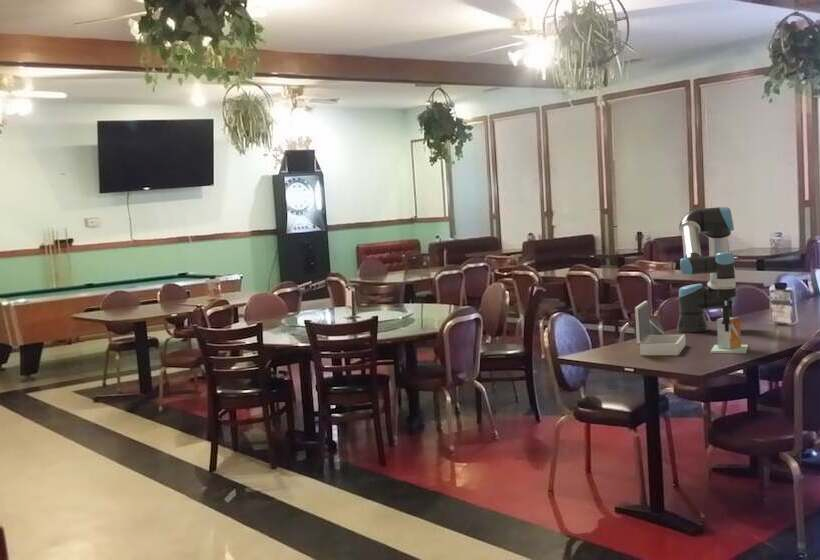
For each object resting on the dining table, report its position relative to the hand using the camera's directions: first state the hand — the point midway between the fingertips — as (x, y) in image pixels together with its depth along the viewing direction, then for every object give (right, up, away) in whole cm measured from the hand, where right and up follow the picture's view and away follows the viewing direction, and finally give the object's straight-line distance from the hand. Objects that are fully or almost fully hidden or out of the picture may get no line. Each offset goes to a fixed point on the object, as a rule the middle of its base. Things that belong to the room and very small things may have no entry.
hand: (728, 336), depth 360 cm
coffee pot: (-20, -5, +36) cm, 42 cm away
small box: (+1, -5, +1) cm, 5 cm away
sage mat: (0, -6, 0) cm, 6 cm away
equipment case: (-25, -7, +13) cm, 29 cm away
